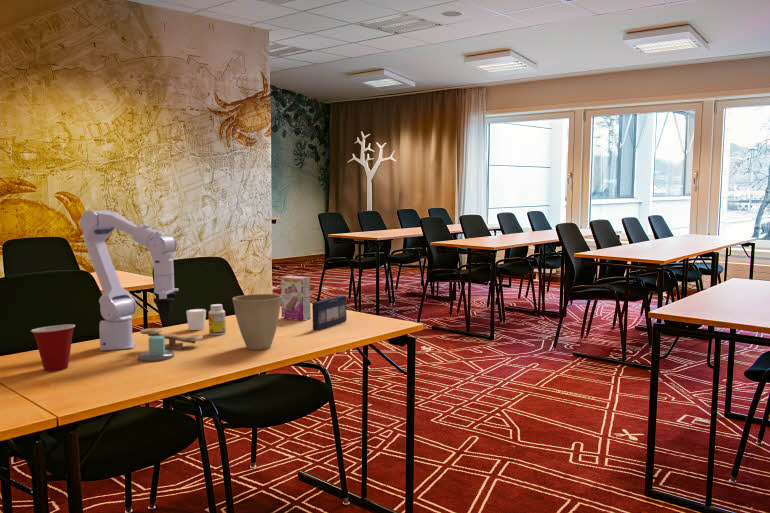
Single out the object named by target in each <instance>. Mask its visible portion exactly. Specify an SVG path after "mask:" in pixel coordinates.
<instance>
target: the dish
mask: <svg viewBox="0 0 770 513" xmlns="http://www.w3.org/2000/svg"><path fill="white" fill-rule="evenodd" d="M174 357H175V352H174V351H173V350H165V353H164V355H159V356H149V350H148V351H144V352H141V353H139V354H138V357H137V360H138V361H141V362H144V363H147V362H149V363H151V362H152V363H153V362H163V361H166V360H170V359H172V358H174Z"/></svg>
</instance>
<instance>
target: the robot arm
mask: <svg viewBox="0 0 770 513" xmlns="http://www.w3.org/2000/svg"><path fill="white" fill-rule="evenodd" d="M79 226H80V228H81V230H82V234H83V241H84V244H85V246H86V249H87V250H86V251H87V252H88V255H89V257H90V261H91V263H92V265H93V268H94V271H95V274H96V276H97V279H98V282H99V284H100V287H101V290H102V292H103V293H102V294H101V296H100V297H99V300H98V302H99V305H100V306H99V308H100V309H99V310H100V315H101V316H102V318H103V319H104V320H100V321H99V327H98V328H99V329H98V330H99V333H98V334H99V348H100V349H99V351H113V350H114V351H115V350H125V349H134V346H135V345H136V341H133V324H132V323H133V321H132V319H133V318H134V314H135V313H136V312H137V302H136V301H135V299H134V298H133V297H132V295H131V293H130V291H128V290H127V289H125V288H123V287H122V286H121V283H120V282H121V281H120V280H119V278H118V277H119V276H118V274H117V272H116V268H115V266H114V263H113V261H112V259H111V255H110V252H109V250H108V248H107V245H106V240H107V238H109V237H110V235H111V234H112V233H113V231H114V230H118V231H121V232H123V233H125V234H128V235H130V236H131V237H132V240H133V241H134V243H135V242H136V243H137V244H139V245H141V246H143V247H145V248H147V249H148V251H149V252H150V254H151V259H152V261H153V263H152V264H153V281H154V282H153V284H154V289H153V293H154V294H156V297H153V302H154V305H155V306H156V309H157V311H158V316H159V318H160V319H159V320H160V322H168V321H170V320H169V319H170V317H171V315H172V308H173V302H174V299H175V296H176V295H177V294H176V292H179V291H180V290H179V288H177V287H176V288H175V275H174V274H175V269H174V268H175V267H174V253H175V251H176V250H177V246H178V245H177V244H178V243H177V240H176V238H175V237H174V236H172V235H171V234H165V235H164V234H163V233H162V232H161V231H157V230H154V229H153V228H150V225H149V224H139V225H137V224H135V223H133V222H131V221H130V220H129V219H127V218H125V217H123V216H122V215H121V214H120V213H119V212H116V211H114V210H112V209H107V210H85V211H84V212H83V213H82V214H81V217H80V219H79Z"/></svg>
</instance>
